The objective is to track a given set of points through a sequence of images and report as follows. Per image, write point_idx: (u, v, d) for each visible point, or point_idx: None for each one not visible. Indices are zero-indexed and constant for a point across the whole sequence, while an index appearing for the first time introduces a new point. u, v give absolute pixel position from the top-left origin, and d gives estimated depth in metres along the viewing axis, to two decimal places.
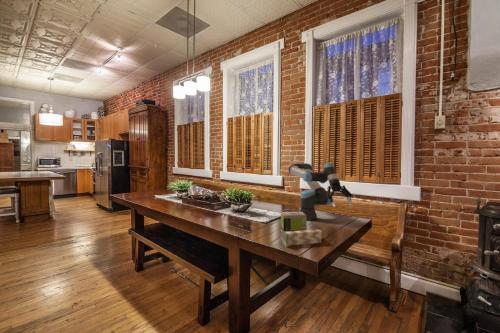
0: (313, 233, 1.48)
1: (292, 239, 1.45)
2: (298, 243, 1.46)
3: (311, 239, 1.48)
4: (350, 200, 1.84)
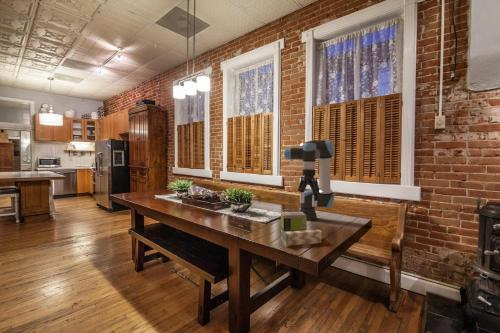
0: (313, 233, 1.48)
1: (292, 239, 1.45)
2: (298, 243, 1.46)
3: (311, 239, 1.48)
4: (312, 200, 1.42)
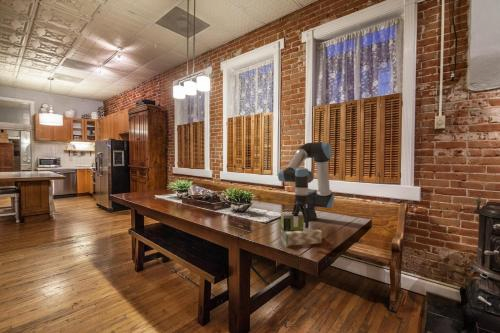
0: (313, 233, 1.48)
1: (292, 239, 1.45)
2: (298, 243, 1.46)
3: (311, 239, 1.48)
4: (304, 227, 1.41)
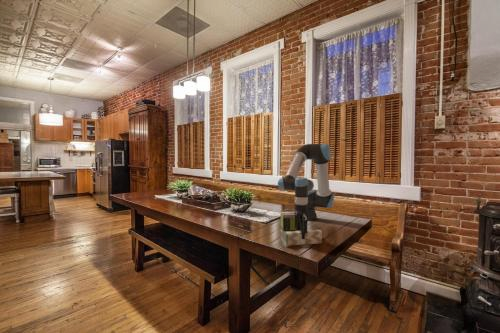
0: (313, 233, 1.48)
1: (292, 239, 1.45)
2: (298, 243, 1.46)
3: (311, 240, 1.48)
4: (300, 238, 1.45)
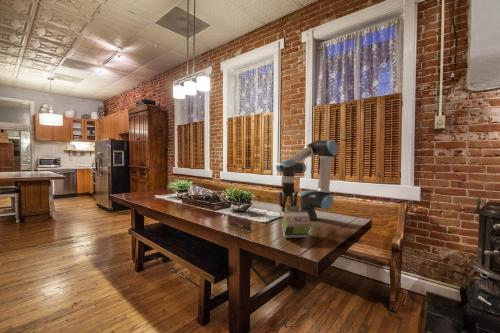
0: None
1: None
2: None
3: None
4: None
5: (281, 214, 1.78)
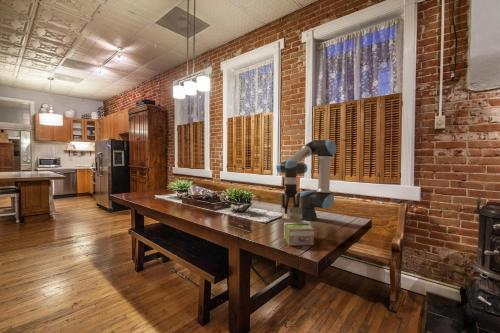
0: None
1: None
2: None
3: None
4: None
5: (283, 216, 1.74)
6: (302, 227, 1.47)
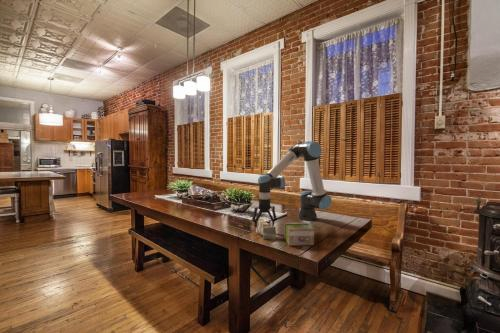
0: None
1: None
2: None
3: None
4: (272, 226, 1.67)
5: (258, 228, 1.74)
6: (302, 227, 1.47)
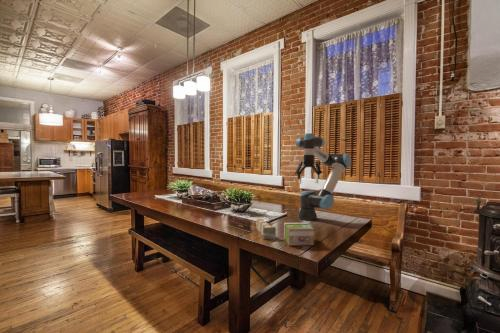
0: None
1: None
2: None
3: None
4: (317, 178, 1.85)
5: (258, 228, 1.74)
6: (302, 227, 1.47)
